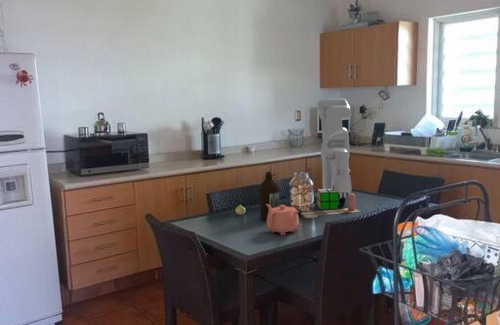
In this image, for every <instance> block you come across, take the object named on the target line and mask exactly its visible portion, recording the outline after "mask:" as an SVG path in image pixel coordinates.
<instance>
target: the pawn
mask: <svg viewBox="0 0 500 325" xmlns="http://www.w3.org/2000/svg"><path fill="white" fill-rule="evenodd" d="M347 208H348V210H349V211H354V210H355V209H356V194H354V193H352V192H351V194H348V195H347Z"/></svg>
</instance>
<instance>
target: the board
mask: <svg viewBox="0 0 500 325" xmlns="http://www.w3.org/2000/svg"><path fill="white" fill-rule="evenodd" d="M305 212H306V211H305ZM305 212H301V213H300V214H301V216H302V217H304V218H305V219H313V218H321V217H322V216H324V215H325V216H326V215H336V214H337V215H338V214H345V213H347V214H348V213H357V212H360V210H359V209H357V208H355V210H354V211H349V210H348V207H347V208H335V209H325V210H319V211H318V210H317V211H316V210H315V211H307V212H306V213H305Z"/></svg>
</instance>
